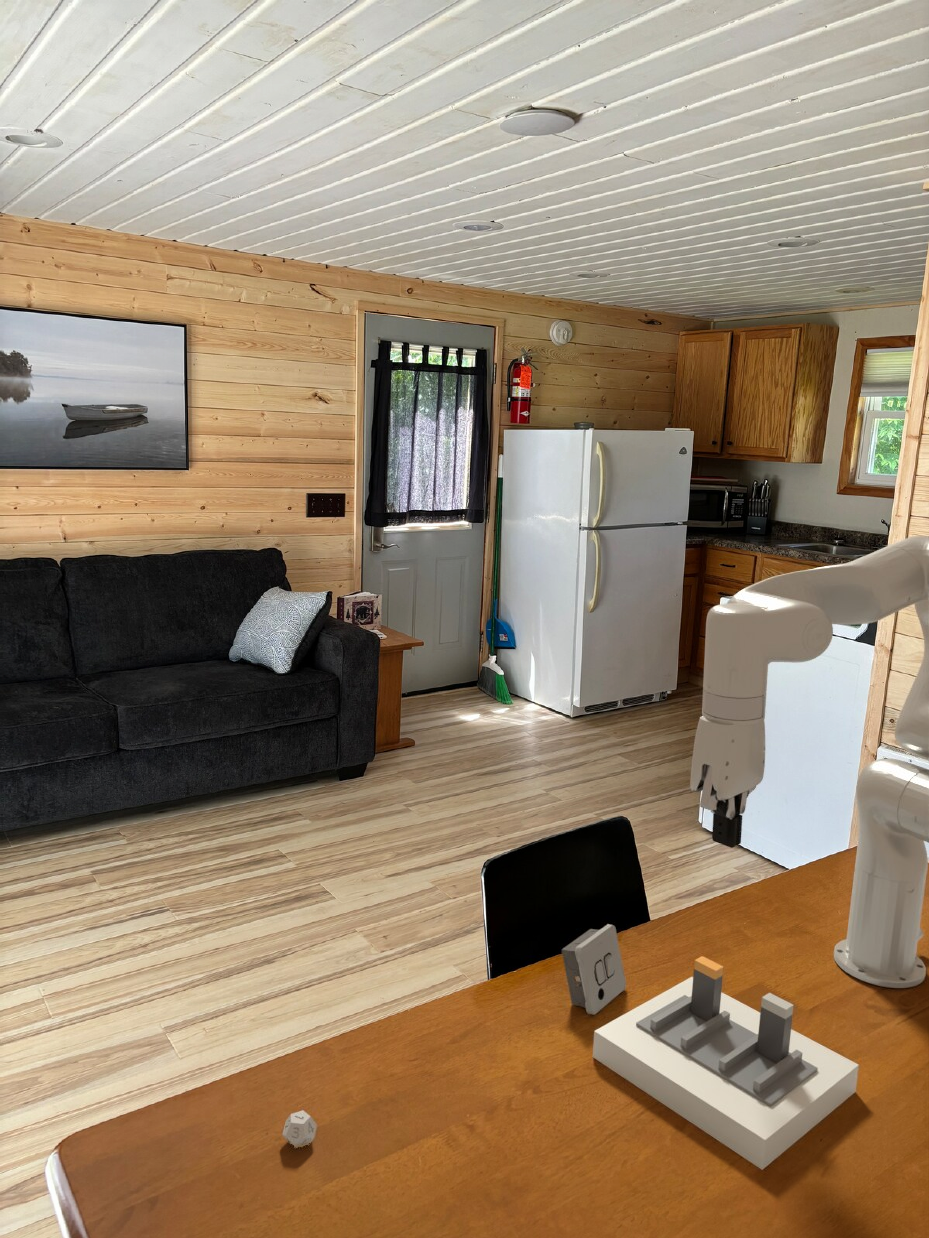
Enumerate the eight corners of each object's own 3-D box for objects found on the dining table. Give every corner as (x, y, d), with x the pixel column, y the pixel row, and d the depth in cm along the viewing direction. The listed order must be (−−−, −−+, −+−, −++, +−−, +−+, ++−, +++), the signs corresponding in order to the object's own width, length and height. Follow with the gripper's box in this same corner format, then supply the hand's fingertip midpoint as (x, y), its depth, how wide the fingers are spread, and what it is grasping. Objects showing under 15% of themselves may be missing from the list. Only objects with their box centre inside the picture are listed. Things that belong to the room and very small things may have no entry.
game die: (295, 1125, 106) (295, 1101, 106) (323, 1136, 105) (323, 1112, 104) (276, 1146, 103) (275, 1121, 103) (304, 1158, 102) (304, 1133, 101)
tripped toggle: (697, 1006, 124) (702, 955, 123) (718, 1018, 122) (723, 966, 120) (690, 1011, 123) (694, 959, 122) (711, 1023, 120) (716, 970, 119)
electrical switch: (592, 1018, 128) (590, 952, 127) (559, 1007, 131) (557, 942, 130) (627, 989, 135) (625, 926, 134) (595, 979, 138) (593, 917, 137)
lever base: (689, 1000, 133) (696, 924, 131) (855, 1091, 115) (865, 1005, 113) (592, 1056, 120) (597, 973, 118) (762, 1169, 102) (772, 1074, 100)
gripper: (741, 686, 126) (733, 817, 130) (671, 709, 116) (666, 850, 120) (793, 698, 121) (784, 835, 124) (725, 724, 111) (717, 871, 115)
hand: (726, 842), depth 122 cm, fingers closed
